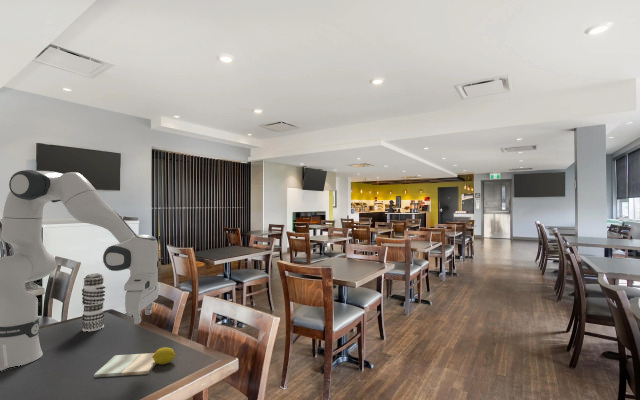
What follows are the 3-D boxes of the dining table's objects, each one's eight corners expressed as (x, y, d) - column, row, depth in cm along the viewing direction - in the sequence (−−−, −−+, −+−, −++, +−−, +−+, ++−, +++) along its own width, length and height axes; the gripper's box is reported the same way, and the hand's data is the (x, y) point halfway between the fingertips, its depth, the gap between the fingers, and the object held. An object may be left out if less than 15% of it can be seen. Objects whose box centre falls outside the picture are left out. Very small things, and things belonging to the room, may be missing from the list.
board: (94, 377, 108) (94, 374, 109) (115, 358, 122) (115, 355, 122) (148, 373, 111) (148, 370, 111) (162, 355, 125) (162, 352, 125)
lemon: (148, 365, 114) (172, 363, 115) (150, 347, 116) (174, 346, 117) (153, 365, 119) (176, 363, 120) (155, 348, 121) (178, 347, 122)
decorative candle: (103, 323, 159) (104, 271, 160) (106, 328, 152) (106, 274, 153) (80, 327, 154) (81, 274, 154) (82, 333, 146) (82, 277, 147)
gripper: (146, 274, 128) (145, 309, 127) (121, 287, 107) (120, 329, 107) (163, 273, 128) (162, 309, 128) (142, 286, 108) (140, 328, 108)
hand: (143, 318), depth 117 cm, fingers open, 8 cm apart
